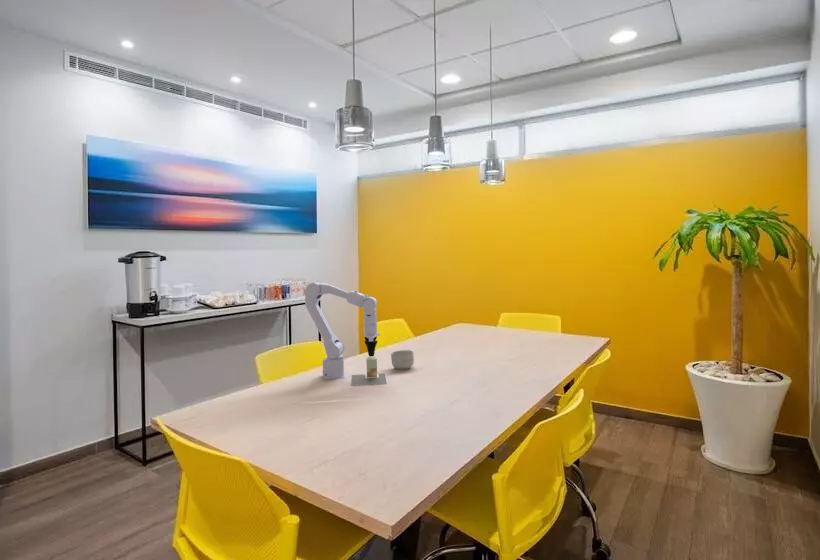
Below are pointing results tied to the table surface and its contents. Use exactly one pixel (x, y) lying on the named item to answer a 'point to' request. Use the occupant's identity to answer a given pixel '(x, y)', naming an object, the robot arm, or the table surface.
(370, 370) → the maple block
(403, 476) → the table surface
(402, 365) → the teacup
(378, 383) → the baseplate
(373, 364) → the sage block
